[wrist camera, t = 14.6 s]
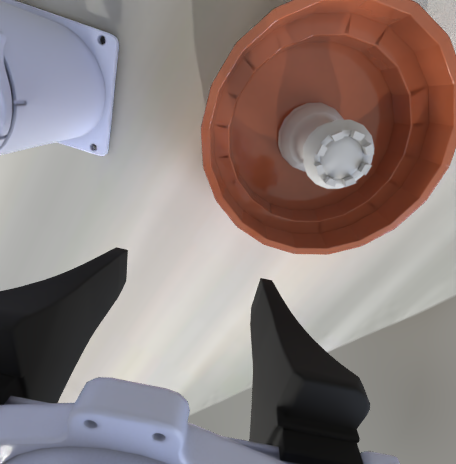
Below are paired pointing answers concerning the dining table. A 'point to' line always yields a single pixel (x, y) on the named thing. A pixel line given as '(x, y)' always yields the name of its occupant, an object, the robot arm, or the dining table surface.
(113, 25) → the dining table surface
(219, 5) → the dining table surface
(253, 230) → the bowl
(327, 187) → the rook chess piece
